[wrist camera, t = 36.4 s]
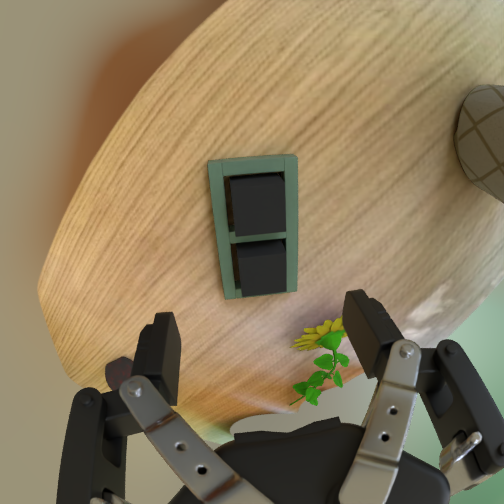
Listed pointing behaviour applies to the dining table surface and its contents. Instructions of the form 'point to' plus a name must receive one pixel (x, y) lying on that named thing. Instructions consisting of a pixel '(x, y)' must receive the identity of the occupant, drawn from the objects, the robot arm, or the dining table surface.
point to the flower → (322, 357)
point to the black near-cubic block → (262, 267)
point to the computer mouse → (118, 372)
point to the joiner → (290, 237)
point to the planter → (483, 139)
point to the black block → (258, 204)
